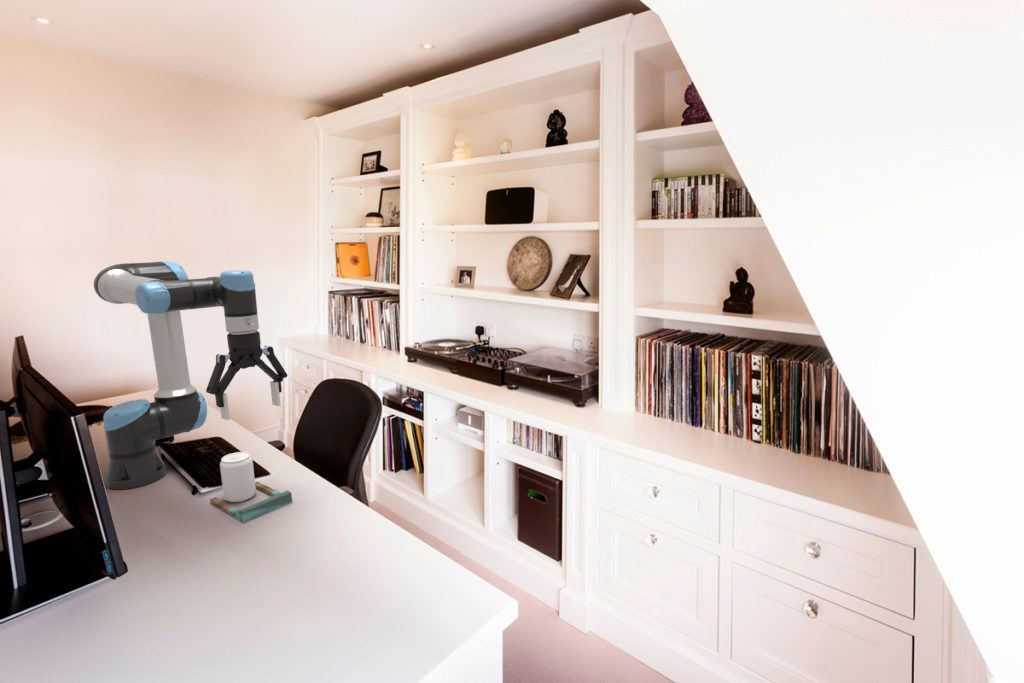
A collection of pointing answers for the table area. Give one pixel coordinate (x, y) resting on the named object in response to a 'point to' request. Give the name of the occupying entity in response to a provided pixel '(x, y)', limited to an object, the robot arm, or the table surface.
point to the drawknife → (256, 504)
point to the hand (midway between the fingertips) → (252, 411)
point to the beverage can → (237, 477)
